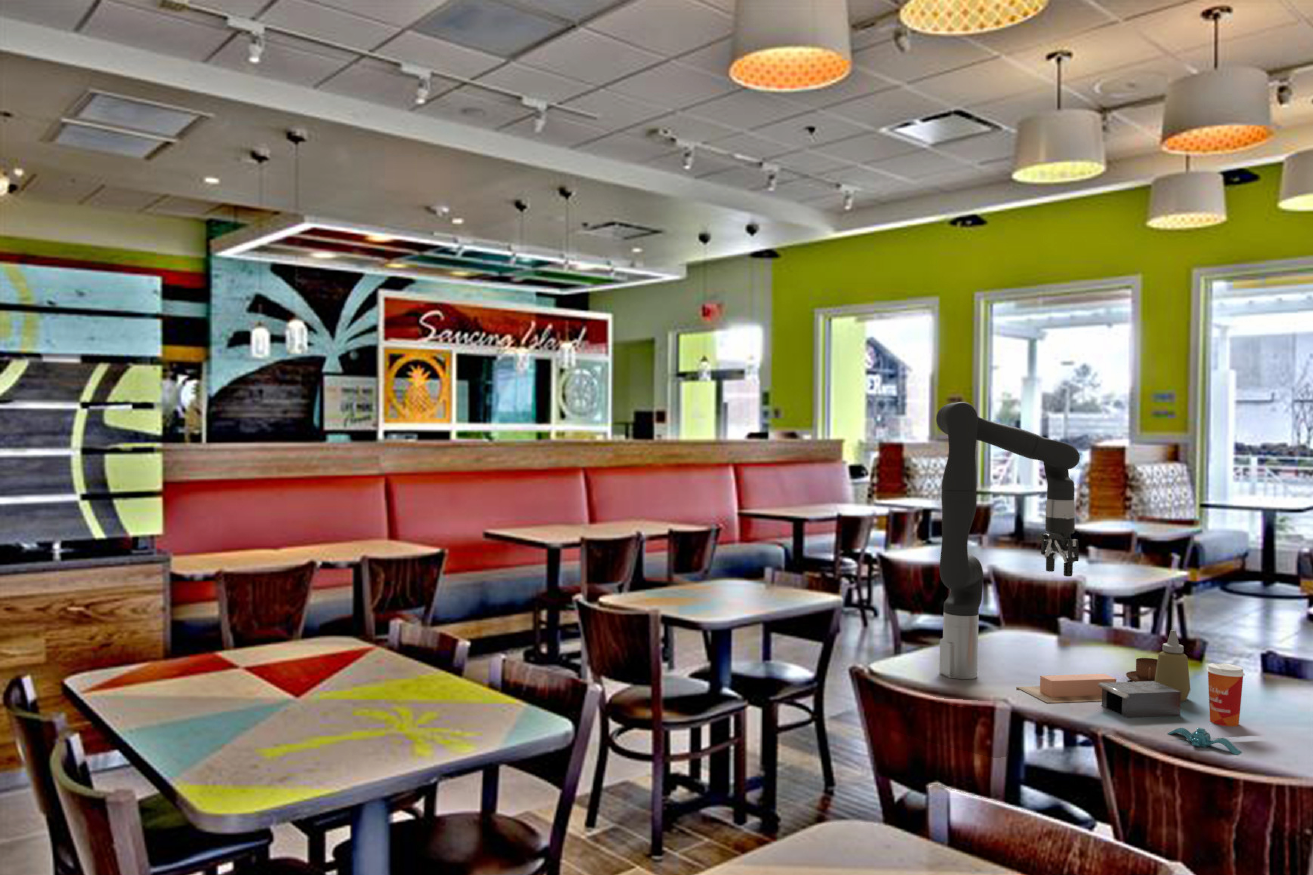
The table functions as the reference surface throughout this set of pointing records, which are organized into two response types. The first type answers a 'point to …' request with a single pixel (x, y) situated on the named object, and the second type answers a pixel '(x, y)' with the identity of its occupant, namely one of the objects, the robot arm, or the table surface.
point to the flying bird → (1205, 739)
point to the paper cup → (1225, 693)
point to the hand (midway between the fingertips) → (1058, 573)
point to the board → (1047, 699)
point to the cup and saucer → (1143, 670)
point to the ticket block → (1073, 684)
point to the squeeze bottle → (1173, 666)
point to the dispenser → (1141, 699)
